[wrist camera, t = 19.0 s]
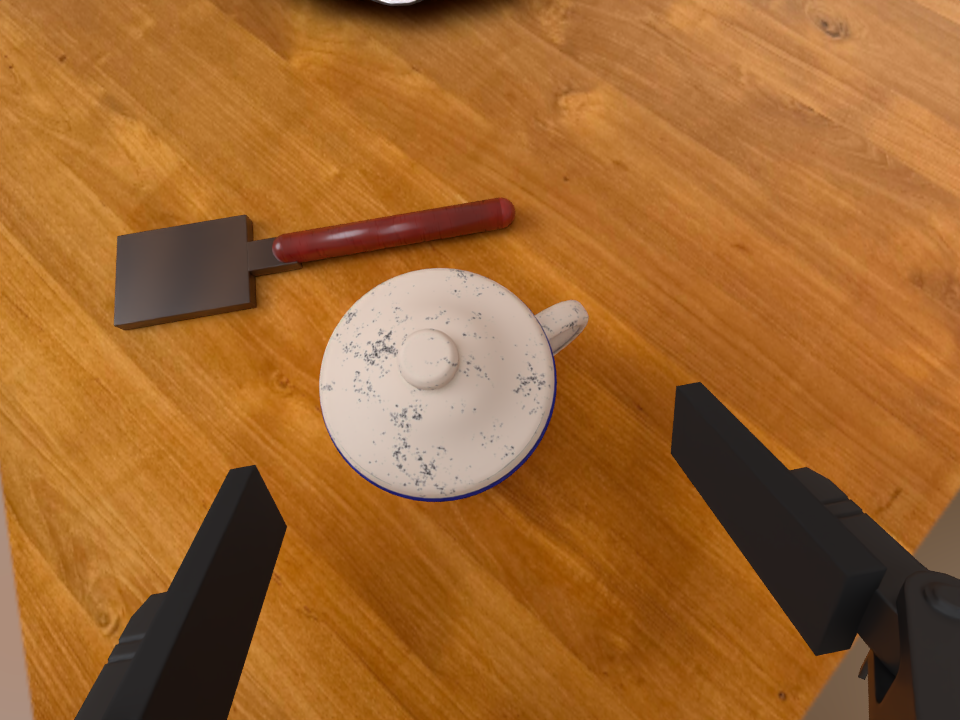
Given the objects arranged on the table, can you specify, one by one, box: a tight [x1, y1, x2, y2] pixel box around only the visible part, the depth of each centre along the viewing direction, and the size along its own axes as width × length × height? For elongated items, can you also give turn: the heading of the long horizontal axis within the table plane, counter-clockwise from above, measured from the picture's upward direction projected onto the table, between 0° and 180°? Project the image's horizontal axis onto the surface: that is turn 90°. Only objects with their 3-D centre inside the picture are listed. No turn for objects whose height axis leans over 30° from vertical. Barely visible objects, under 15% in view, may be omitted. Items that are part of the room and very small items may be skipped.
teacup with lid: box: [319, 268, 588, 502], centre depth 20 cm, size 12×9×12 cm
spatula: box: [114, 198, 515, 330], centre depth 28 cm, size 24×6×2 cm, turn 100°
